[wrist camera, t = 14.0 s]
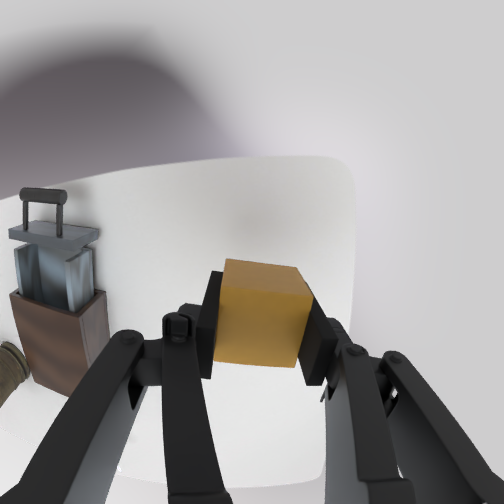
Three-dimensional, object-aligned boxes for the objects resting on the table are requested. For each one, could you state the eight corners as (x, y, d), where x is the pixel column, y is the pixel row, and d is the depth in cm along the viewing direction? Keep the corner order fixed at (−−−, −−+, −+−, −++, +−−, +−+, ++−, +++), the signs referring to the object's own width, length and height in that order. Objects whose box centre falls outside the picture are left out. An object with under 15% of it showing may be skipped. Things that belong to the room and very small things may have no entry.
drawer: (36, 184, 27) (8, 187, 21) (100, 187, 28) (74, 191, 22) (44, 313, 32) (23, 331, 26) (103, 331, 33) (85, 354, 27)
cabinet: (39, 274, 31) (8, 294, 24) (106, 291, 32) (78, 318, 25) (55, 356, 35) (34, 382, 28) (115, 377, 36) (99, 409, 29)
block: (226, 258, 16) (220, 285, 12) (296, 267, 17) (314, 296, 13) (218, 321, 18) (213, 361, 13) (283, 327, 18) (294, 368, 14)
